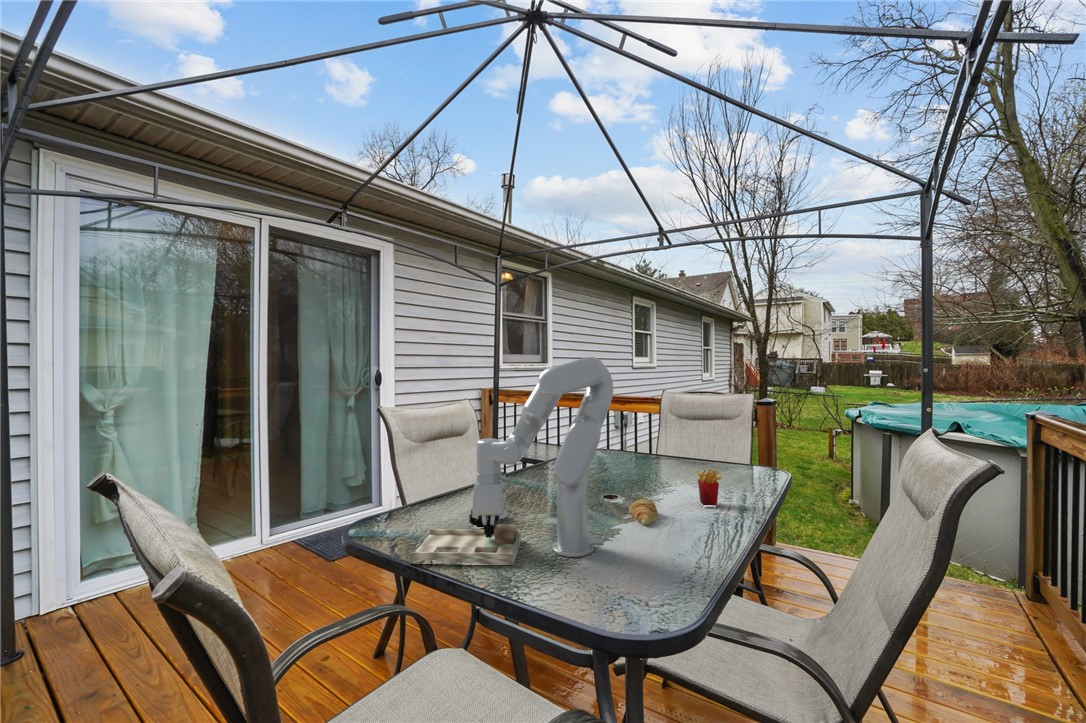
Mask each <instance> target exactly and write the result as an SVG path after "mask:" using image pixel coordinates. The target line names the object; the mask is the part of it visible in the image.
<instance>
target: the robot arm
mask: <svg viewBox="0 0 1086 723" xmlns="http://www.w3.org/2000/svg"><path fill="white" fill-rule="evenodd" d="M583 389H585V392H584V395H583V398H582V400H581V403H580V405H579V408H578V409H577V410H578V411H577V412H576V415H575V417H574V419H573V420H572V422H571V423H570V425H569V428H568V429H567V432H566V435H565V437H564V440H563V442H562V445H561V447H560V449H559V451H558V454H557V457H556V459H555V461H554V465H553V472H554V476H555V477H556V497H557V498H556V508H557V509H556V510H557V511H556V515H557V516H556V517H557V519H556V520H557V526H556V527H557V528H556V529H557V541H555V542H554V543H553V544H552V552H554V553H555V554H557V555H559V556H562V557H567V558H581V557H585V556H588V555H590V554H591V553H593V552H594V549H595V548H594V547H595V545H596V546H604V538H600V536H592V535H590V531H589V487H588V486H589V484H588V483H589V482H588V480H589V478H588V477H589V475H588V474H589V469H590V468H589V467H590V465H591V463H592V461H593V458H594V456H595V454H596V450H597V449H598V447H599V443H600V441H601V434H602V428H603V424H604V422H605V421H606V417H607V415H608V412H609V409H610V406H611V404H612V399H613V398H614V382H613V377H612V375H611V372H610V371H609V369H608V368H607V367H606V365H605V364H604V363H603V362H602V360H600V359H599V358H597V357H594V356H586V357H584V358H583V357H582V358H579V359H576V360H573V361H570V362H566V363H564V364H563V363H562V364H559V365H556V366H551V367H546V369H544V370H543V371H541V373H540V375H539V377H538V382H536V385H535V387H534V388H533V390H532V391H531V393H530V394H529V396H528V398H527V400H526V401H525V403H524V404H523V406H522V410H521V414H520V417H519V420H518V421H517V423H516V425H515V427H514V428H513V430H512V432H511V433H510V435H509V436H508V438H507V439H506V440H503V441H500V440H499V439H497V438H494V437H493V438H491V437H489V438H481V439H478V441H477V442H476V481H475V482H474V486H473V493H472V494H473V495H472V504H471V505H472V508H471V509H472V511H473V514H472V517H473V518H477V519H479V520H480V521H481V522H482V523H483V525H484V529H483V530H484V534H486V538H488V537H489V538H491V537H492V534H494V530H495V523H496V522H497V521H499V520H500V519H505V518H506V517H507V513H506V509H507V507H506V506H507V504H506V503H507V502H506V491H505V488H506V487H505V484H504V481H502V480H505V479H506V474H503V473H502V472H501V471H502V470H501V468H502V467H501V466H502V465H506V466H507V465H508V466H511V465H512V466H513V465H516V464H518V463H519V462H520V461H521V460H522V458H523V457H524V456H525V455H526V453H527V452H528V450H529V449H530V447H531V445H532V444H533V442H534V440H535V438H537V436H538V434H539V432H540V431H541V429H542V428H543V426H544V425H545V424H546V423H547V421H548V419H549V417H550V415H551V414H552V412H553V411H554V409H555V407H556V406H557V405H558V403H559V401H560V399H561V398H562V396H563V394H568V393H571V392H576V391H579V390H583ZM487 515H491V521H490V523H489V521H488V517H487Z"/></svg>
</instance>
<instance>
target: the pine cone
mask: <svg viewBox="0 0 1086 723" xmlns="http://www.w3.org/2000/svg"><path fill="white" fill-rule="evenodd" d="M470 510H471V511H470V513H469V515H468V518H469V519H468V521H469V522H468V523H470V524H471V525H472V526H473V525H476V526H477V527H484V525H483V523H482V522H481V521H480V520H479V519H477V518H473V517H472V514H473V511H472V508H471V509H470ZM487 517H488V521H489V523H490V521H491V515H487Z"/></svg>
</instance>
